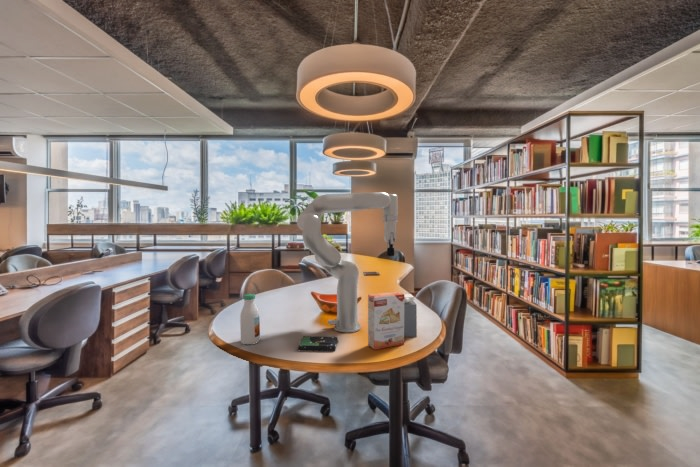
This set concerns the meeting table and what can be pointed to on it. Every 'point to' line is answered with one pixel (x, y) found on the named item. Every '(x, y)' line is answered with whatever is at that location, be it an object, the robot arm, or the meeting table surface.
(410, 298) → the pump head
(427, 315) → the meeting table surface
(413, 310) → the block
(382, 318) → the cracker box
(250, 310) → the milk bottle
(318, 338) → the disk drive
